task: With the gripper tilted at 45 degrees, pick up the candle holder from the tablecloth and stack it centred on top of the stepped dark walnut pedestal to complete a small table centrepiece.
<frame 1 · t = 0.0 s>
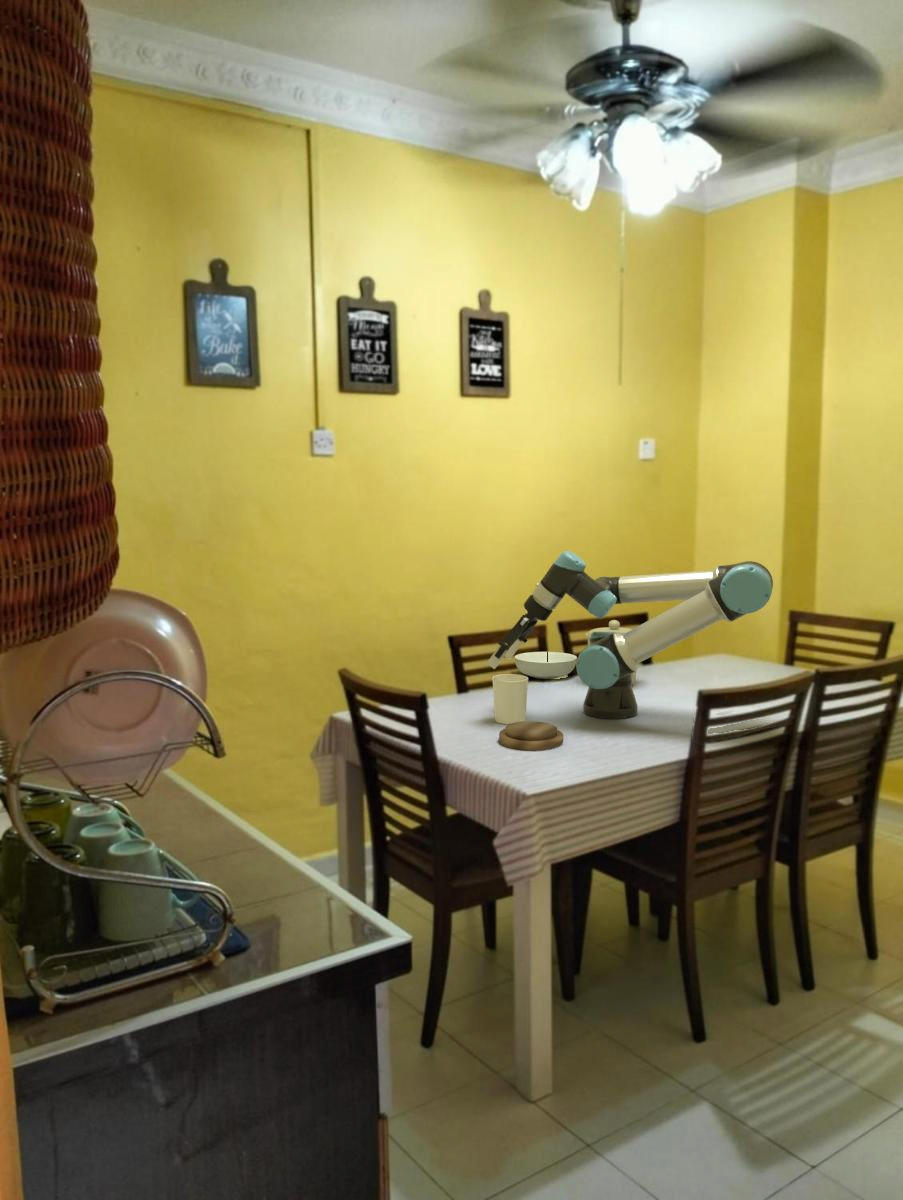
hand: (498, 661, 257), 15 cm above the table, tool tilted 35°, fingers open, 13 cm apart
canister: (613, 685, 296), on the table
walnut pedestal: (531, 741, 232), on the table
serving bowl: (545, 677, 310), on the table
candle holder: (510, 721, 253), on the table
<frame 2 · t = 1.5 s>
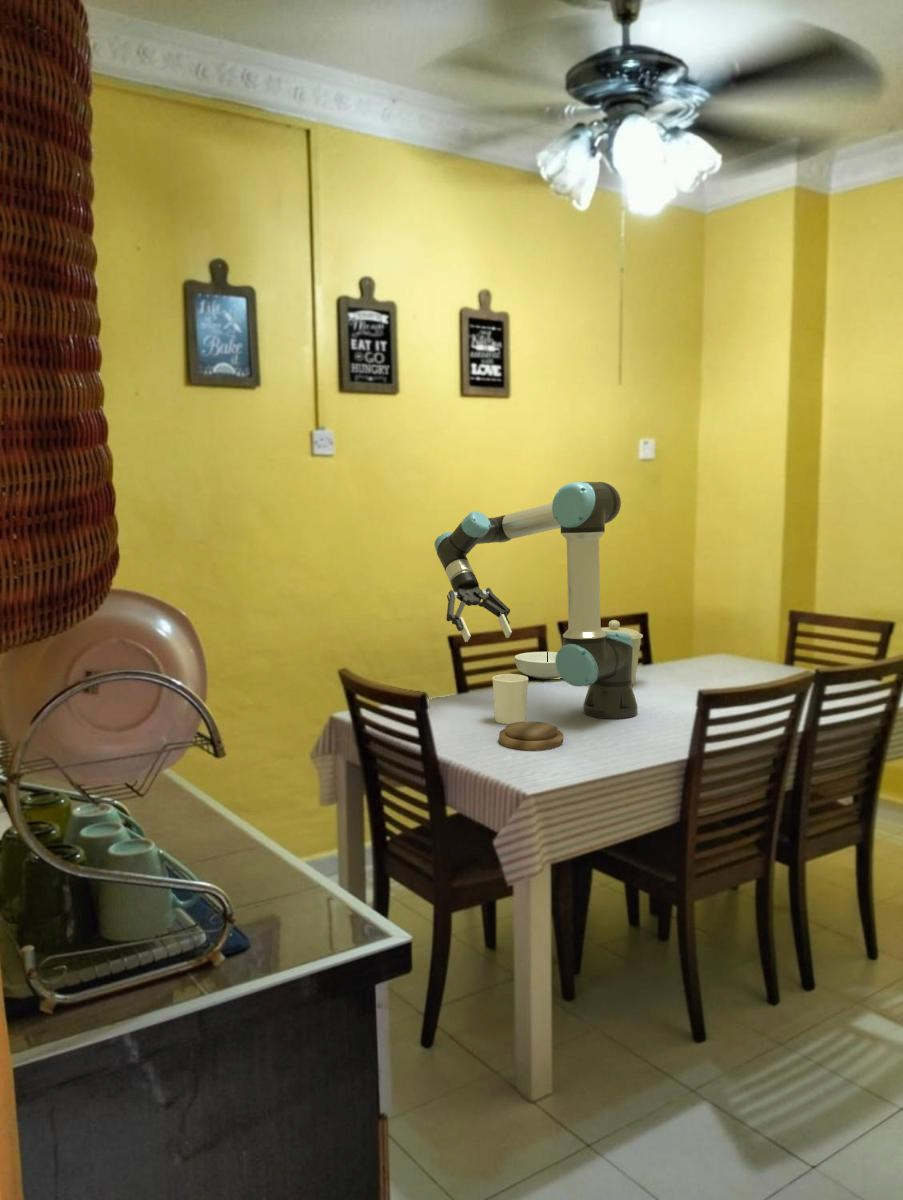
hand: (488, 637, 259), 22 cm above the table, tool tilted 45°, fingers open, 13 cm apart
nothing on the table moved.
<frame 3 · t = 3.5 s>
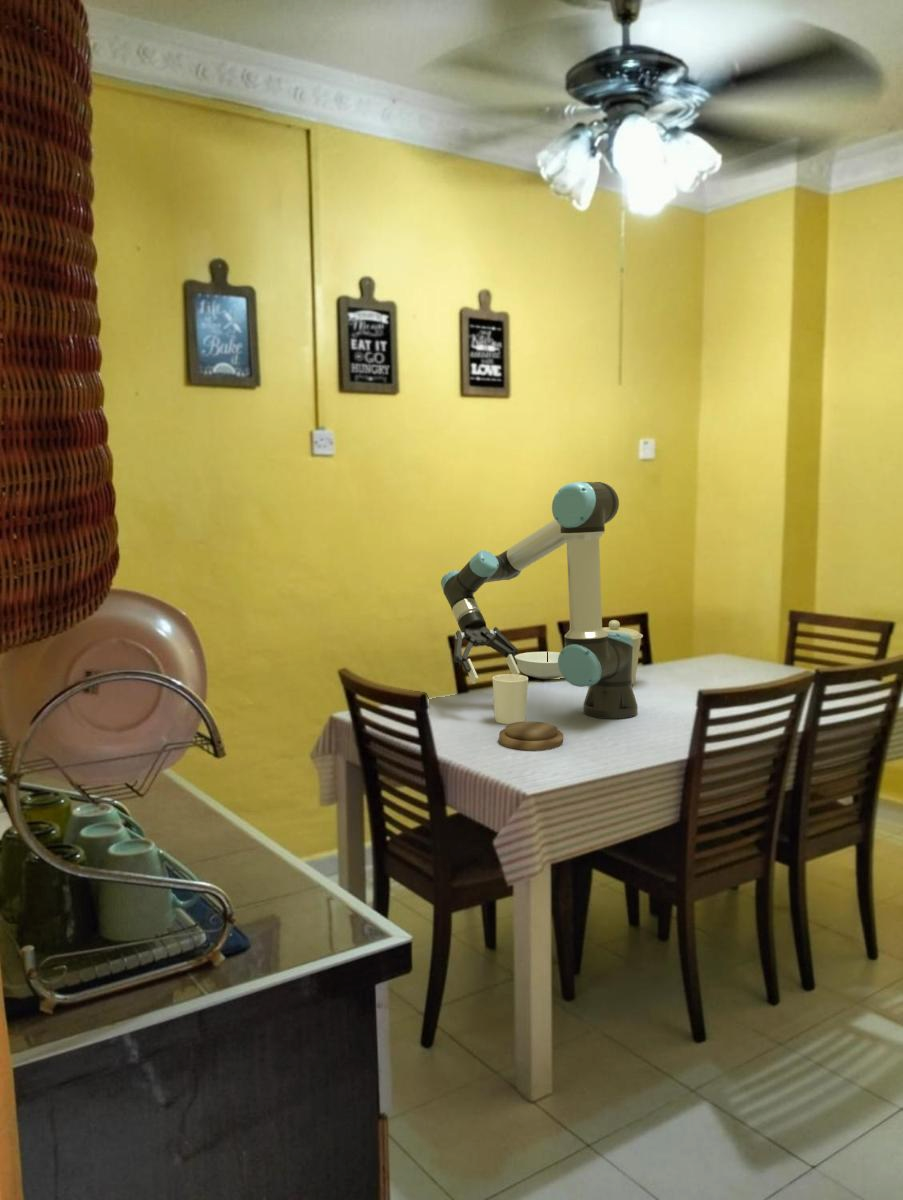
hand: (496, 678, 256), 11 cm above the table, tool tilted 45°, fingers open, 13 cm apart
nothing on the table moved.
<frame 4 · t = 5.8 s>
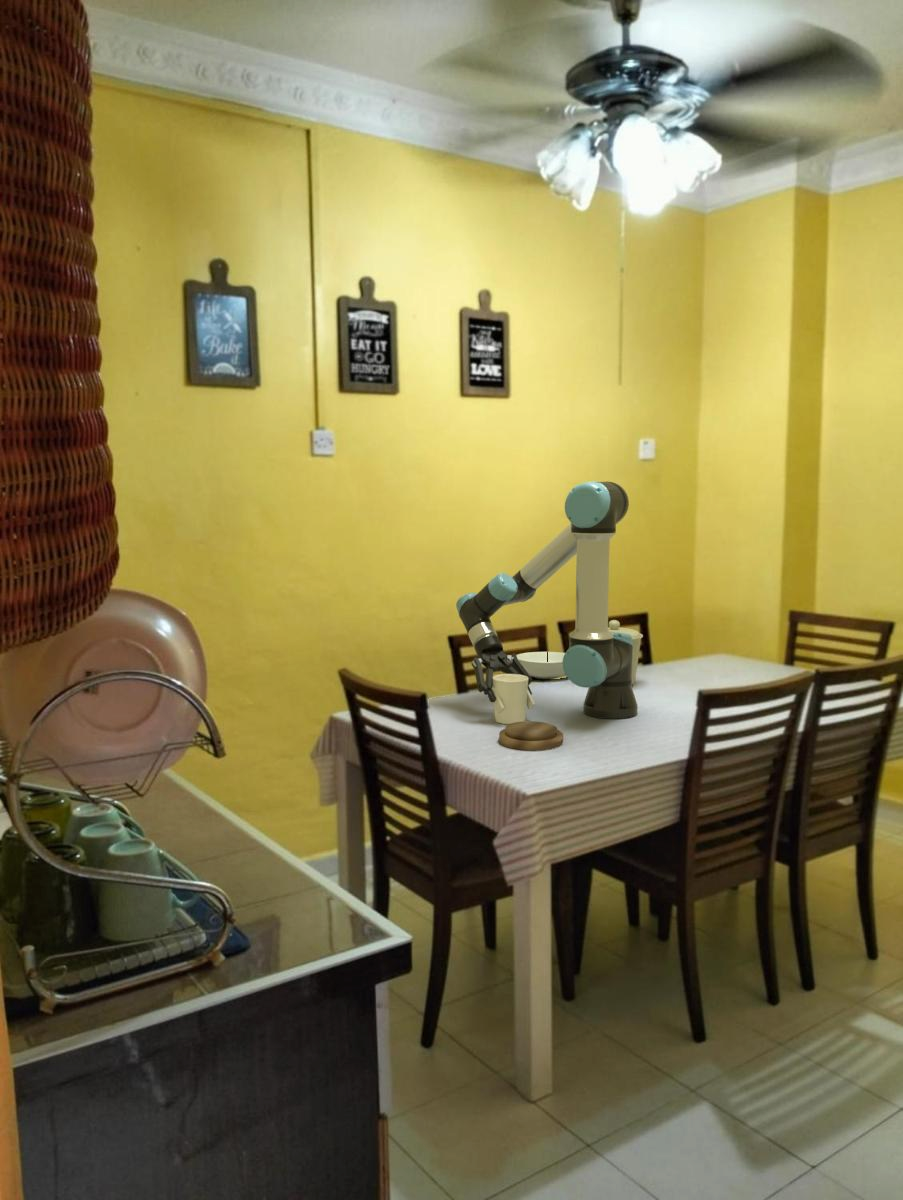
hand: (516, 708, 249), 4 cm above the table, tool tilted 45°, fingers closed on candle holder, 9 cm apart
candle holder: (510, 721, 253), on the table, touching gripper
everything else where it was.
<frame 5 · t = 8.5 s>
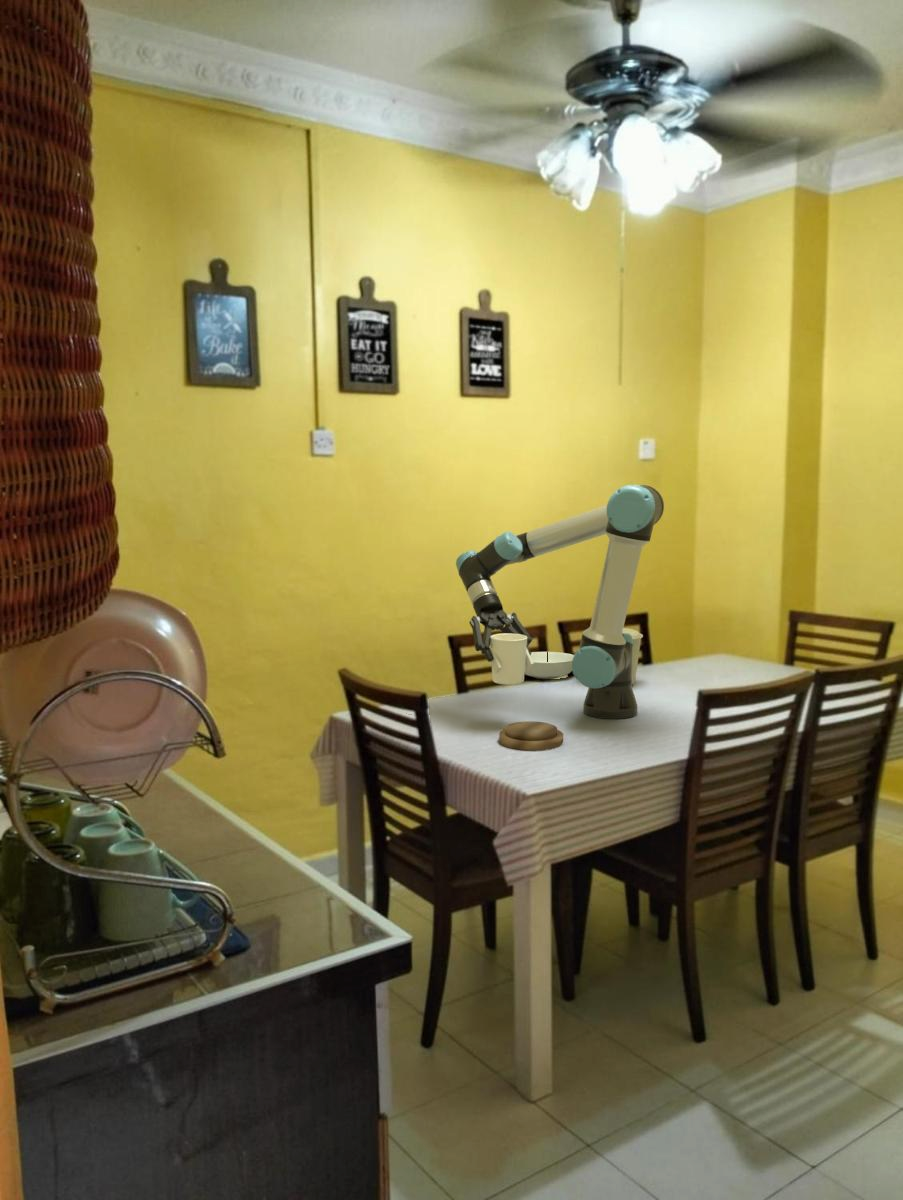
hand: (514, 668, 242), 16 cm above the table, tool tilted 45°, fingers closed on candle holder, 9 cm apart
candle holder: (508, 681, 245), point 12 cm above the table, touching gripper
everything else where it was.
when the fingers open (9 cm above the table, at t = 11.3 s): candle holder moves 3 cm, resting on walnut pedestal.
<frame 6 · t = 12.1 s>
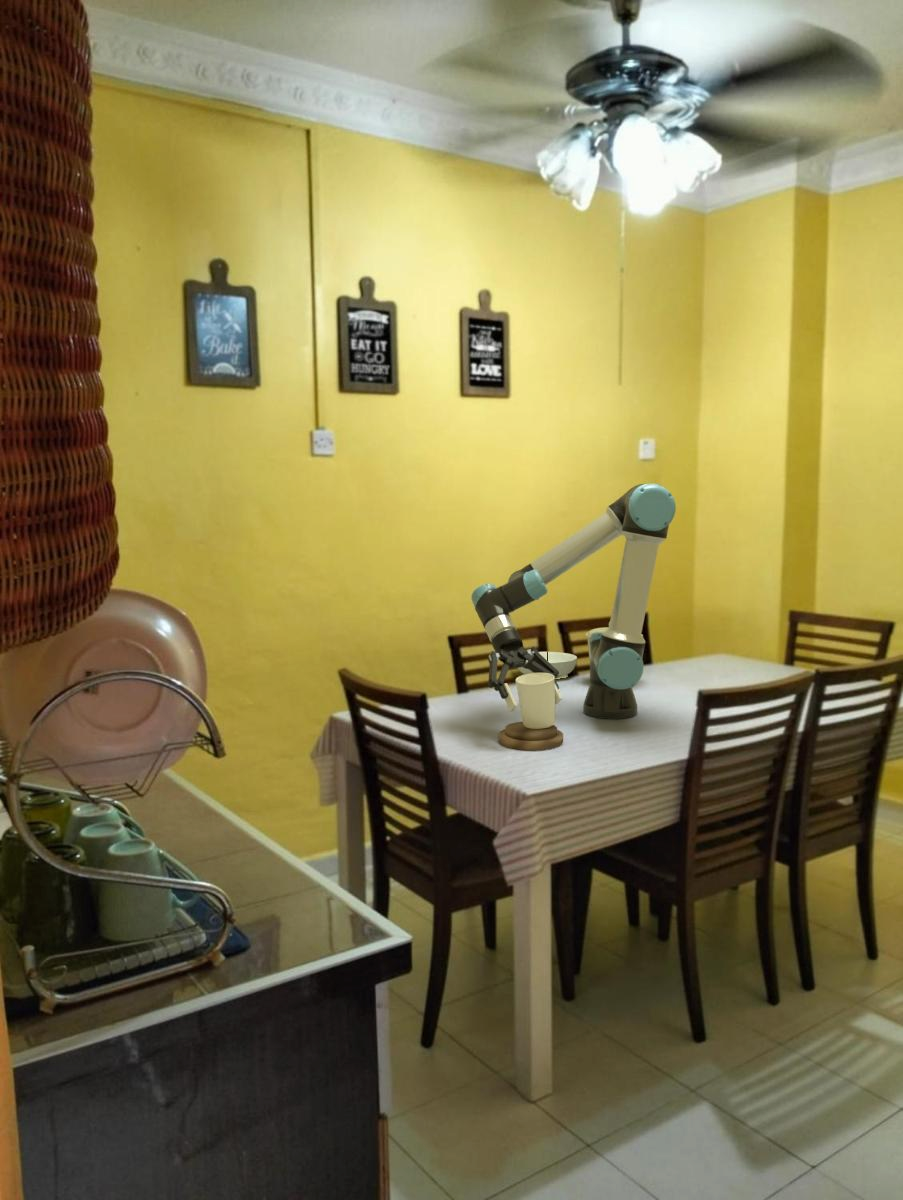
hand: (536, 705, 229), 10 cm above the table, tool tilted 45°, fingers open, 13 cm apart
candle holder: (539, 724, 234), point 4 cm above the table, touching gripper, walnut pedestal
everything else where it was.
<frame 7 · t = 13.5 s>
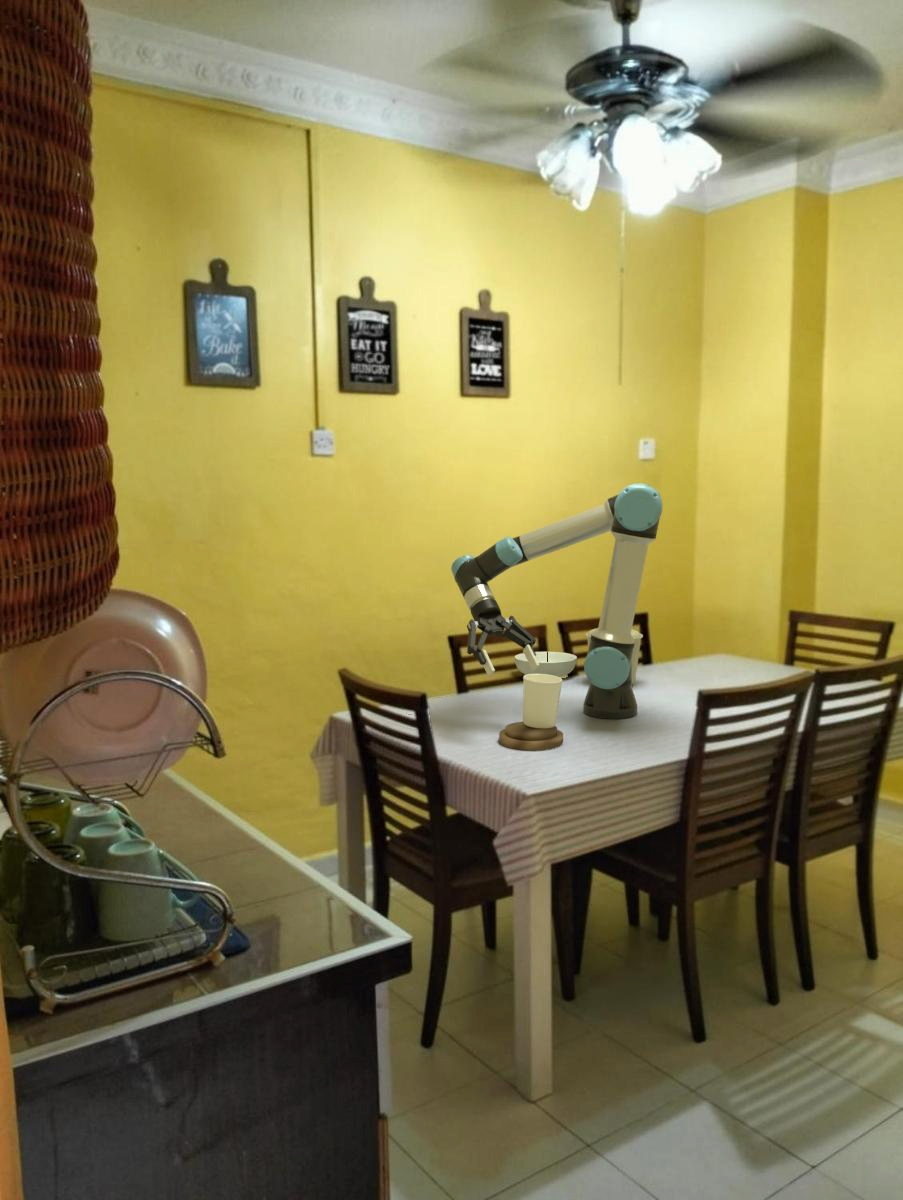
hand: (514, 670, 236), 17 cm above the table, tool tilted 45°, fingers open, 13 cm apart
candle holder: (539, 724, 234), point 4 cm above the table, touching walnut pedestal
everything else where it was.
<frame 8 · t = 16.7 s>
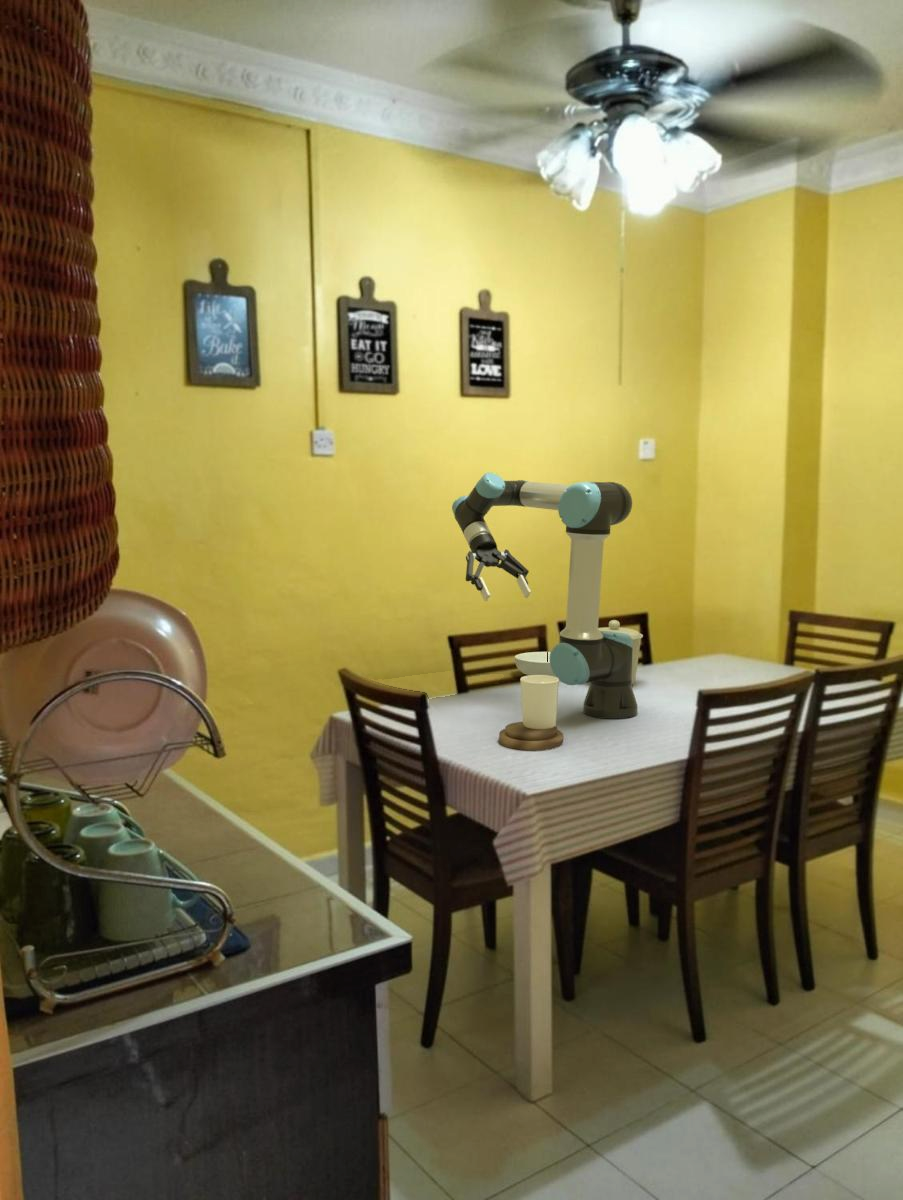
hand: (508, 596, 261), 33 cm above the table, tool tilted 45°, fingers open, 13 cm apart
nothing on the table moved.
at the end: candle holder inside the target area on the walnut pedestal (3.4 cm from its centre), point 3.3 cm above the walnut pedestal's base; candle holder tilted 0°; the gripper is holding nothing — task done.
